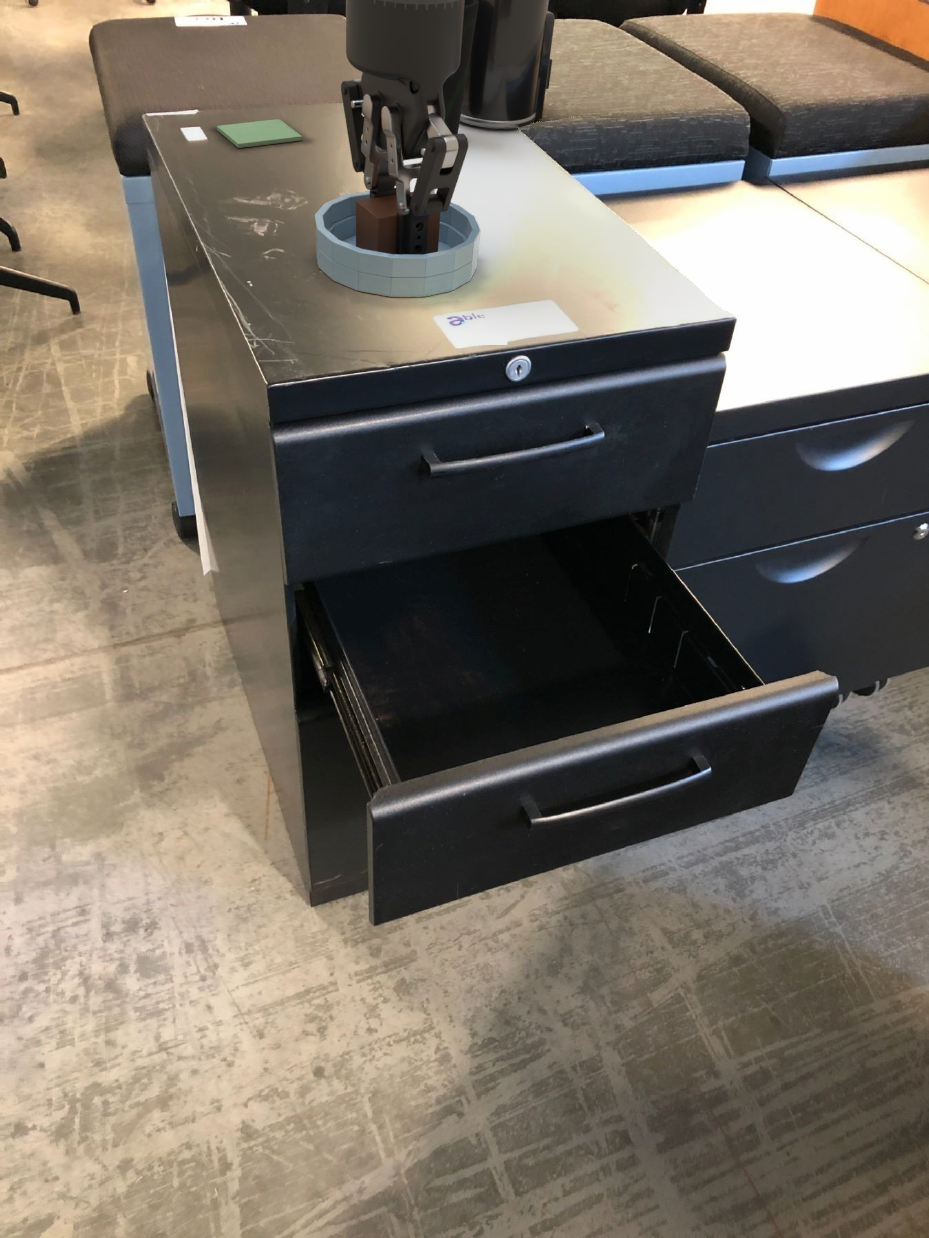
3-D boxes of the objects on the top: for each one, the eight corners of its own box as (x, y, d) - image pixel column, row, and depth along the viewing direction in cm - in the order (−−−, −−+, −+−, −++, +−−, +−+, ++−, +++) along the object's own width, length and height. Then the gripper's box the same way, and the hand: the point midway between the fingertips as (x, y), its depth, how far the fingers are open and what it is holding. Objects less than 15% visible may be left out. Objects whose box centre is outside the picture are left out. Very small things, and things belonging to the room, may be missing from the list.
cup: (458, 158, 91) (469, 12, 83) (380, 145, 92) (383, -1, 84) (473, 132, 97) (485, -7, 88) (399, 121, 97) (404, -19, 89)
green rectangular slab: (279, 123, 94) (279, 118, 94) (302, 140, 91) (301, 136, 91) (217, 130, 91) (216, 125, 91) (238, 148, 89) (238, 143, 88)
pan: (423, 225, 80) (425, 182, 77) (505, 287, 73) (510, 241, 70) (289, 249, 74) (287, 203, 72) (364, 318, 68) (364, 269, 65)
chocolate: (414, 245, 75) (417, 190, 72) (437, 263, 73) (441, 208, 70) (355, 256, 73) (355, 200, 70) (377, 275, 71) (378, 218, 68)
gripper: (518, 9, 58) (489, 282, 70) (401, -45, 66) (393, 208, 78) (411, 16, 55) (400, 301, 67) (301, -41, 63) (309, 222, 75)
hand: (396, 250), depth 73 cm, fingers closed on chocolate, 3 cm apart
